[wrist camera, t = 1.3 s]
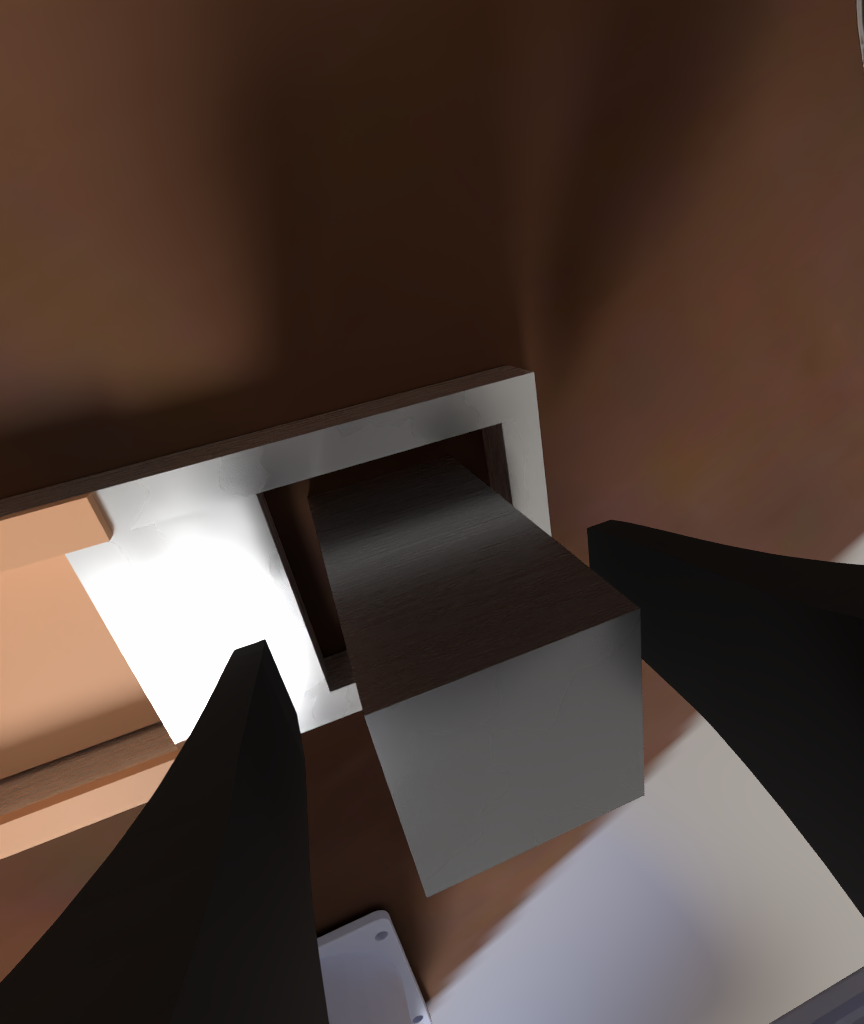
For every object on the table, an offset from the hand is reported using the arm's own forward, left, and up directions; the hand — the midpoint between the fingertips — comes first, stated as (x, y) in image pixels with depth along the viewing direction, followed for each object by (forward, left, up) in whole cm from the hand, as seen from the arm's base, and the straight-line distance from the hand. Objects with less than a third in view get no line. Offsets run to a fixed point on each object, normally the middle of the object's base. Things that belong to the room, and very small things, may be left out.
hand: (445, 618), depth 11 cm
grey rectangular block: (0, 0, -4) cm, 4 cm away
